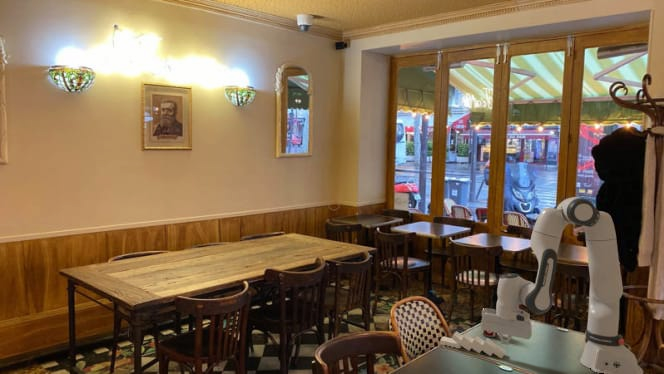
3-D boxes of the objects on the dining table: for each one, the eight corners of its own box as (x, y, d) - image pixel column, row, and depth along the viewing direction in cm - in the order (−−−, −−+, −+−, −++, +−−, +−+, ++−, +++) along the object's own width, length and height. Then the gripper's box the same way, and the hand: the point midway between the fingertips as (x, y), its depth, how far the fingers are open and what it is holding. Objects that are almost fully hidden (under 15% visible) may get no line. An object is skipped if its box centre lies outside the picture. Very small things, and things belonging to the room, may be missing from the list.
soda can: (494, 332, 238) (495, 308, 237) (499, 338, 232) (500, 313, 231) (480, 332, 238) (481, 307, 237) (484, 337, 231) (486, 312, 231)
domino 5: (506, 351, 212) (487, 337, 216) (503, 355, 208) (484, 341, 212) (503, 354, 213) (484, 341, 217) (501, 358, 209) (482, 345, 212)
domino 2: (474, 343, 219) (456, 331, 223) (471, 347, 215) (453, 334, 218) (471, 347, 220) (454, 334, 223) (469, 351, 215) (451, 338, 219)
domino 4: (495, 348, 215) (477, 335, 218) (492, 352, 210) (474, 339, 214) (493, 352, 215) (474, 339, 219) (490, 356, 211) (471, 342, 214)
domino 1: (463, 341, 222) (443, 336, 226) (460, 344, 217) (440, 339, 222) (463, 345, 222) (443, 340, 226) (459, 349, 217) (439, 344, 222)
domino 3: (484, 346, 217) (466, 333, 221) (481, 350, 213) (463, 336, 216) (482, 349, 218) (464, 336, 221) (479, 353, 213) (461, 340, 217)
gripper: (480, 309, 211) (478, 340, 213) (531, 319, 201) (528, 352, 202) (483, 305, 217) (481, 336, 218) (533, 314, 207) (531, 347, 208)
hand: (504, 344), depth 210 cm, fingers closed
